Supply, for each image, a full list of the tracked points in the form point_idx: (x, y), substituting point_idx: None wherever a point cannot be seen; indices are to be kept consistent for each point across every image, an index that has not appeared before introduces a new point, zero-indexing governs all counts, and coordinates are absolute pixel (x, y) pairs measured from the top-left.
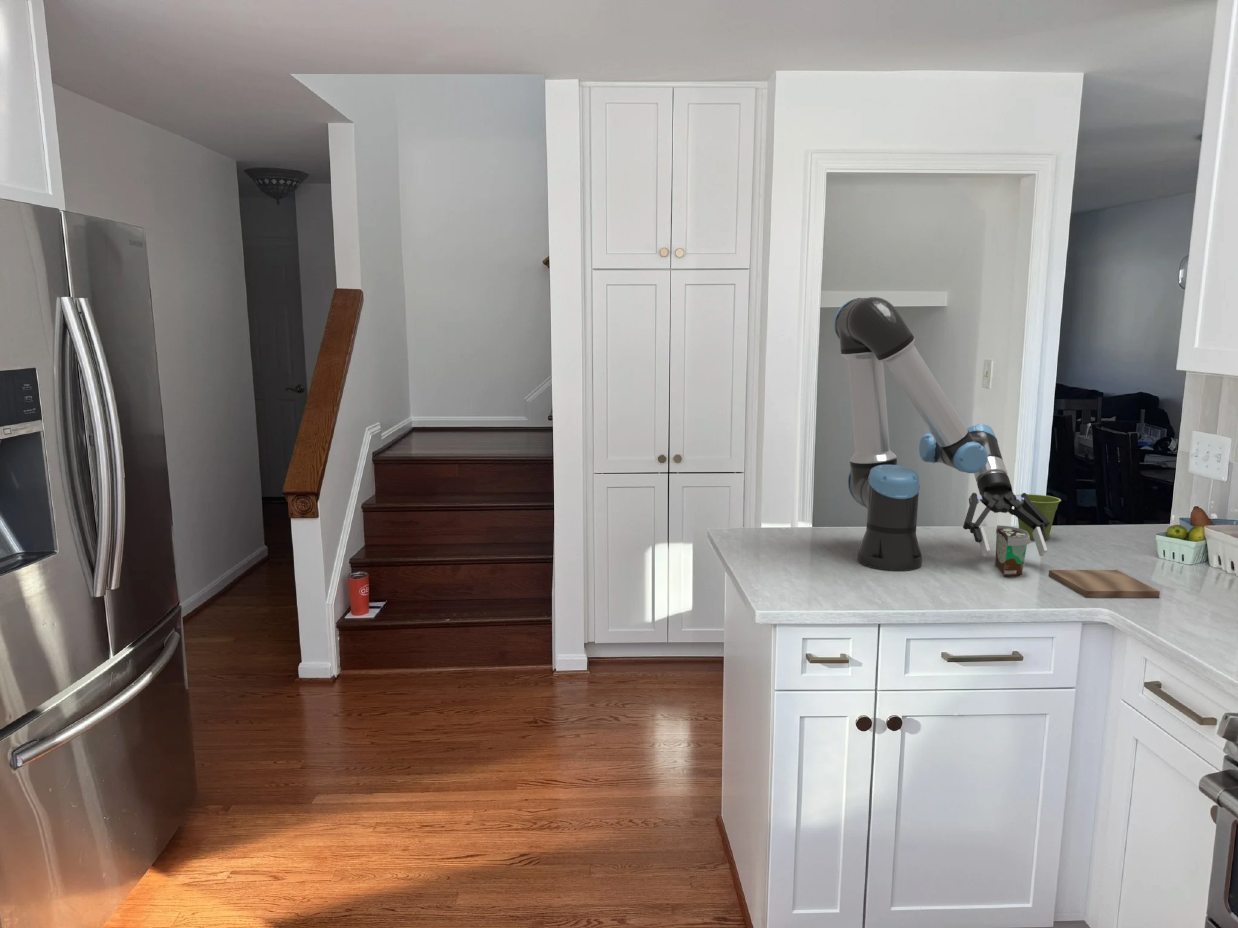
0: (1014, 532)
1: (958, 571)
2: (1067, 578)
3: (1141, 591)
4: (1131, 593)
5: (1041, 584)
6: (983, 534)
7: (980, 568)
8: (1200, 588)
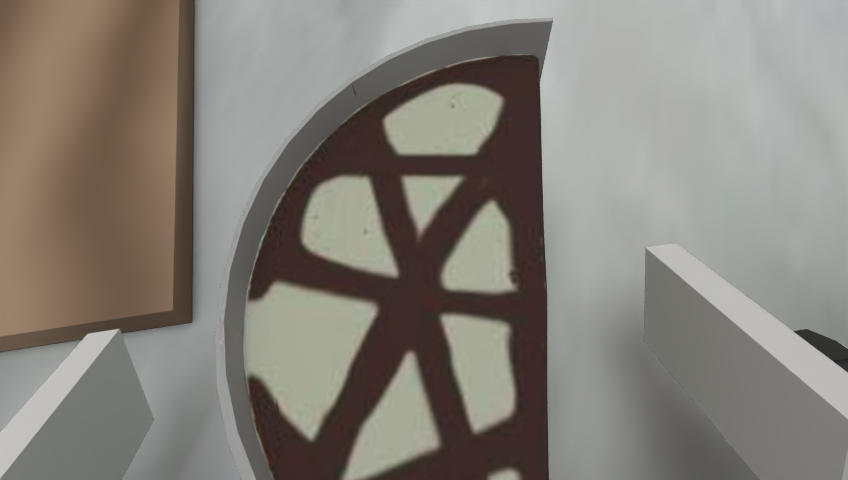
0: (353, 432)
1: None
2: (157, 131)
3: None
4: None
5: None
6: (783, 335)
7: (627, 447)
8: None
